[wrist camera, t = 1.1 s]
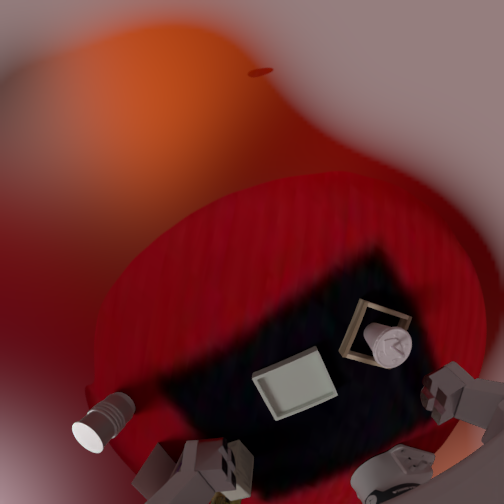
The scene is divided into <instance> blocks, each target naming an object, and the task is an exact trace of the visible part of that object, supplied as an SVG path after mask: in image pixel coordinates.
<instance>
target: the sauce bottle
mask: <svg viewBox="0 0 504 504" xmlns="http://www.w3.org/2000/svg"><path fill="white" fill-rule="evenodd" d="M211 504H241V499H238V500H233V501H230V500H229V499H228V498H226V497H225V496H224V495H223V494H222V493H221V492H215V495H214V496H213V498H212V500H211Z"/></svg>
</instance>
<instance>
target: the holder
mask: <svg viewBox="0 0 504 504" xmlns="http://www.w3.org/2000/svg"><path fill="white" fill-rule="evenodd" d="M367 306H368V307H370V308H373V309H376V310H379V311H382V312H385V313H388V314H391V315H394V316H397V317H400V320H399V322H398V325H397V327H400V328H403V329H404V330H405V331H407V329H408V327H409V324H410V322H411V319H412V317H411V316H408V315H406V314H403V313H400V312H398V311H395V310H392V309H389V308H386V307H383V306H380V305H377V304H374V303H371V302H368V301H366V300H363V299H359V302H358V304H357V307H356V310H355V312H354V315H353V317H352V320H351V322H350V325H349V327H348V330H347V332H346V335H345V337H344V340H343V342H342V344H341V347H340V349H339V352H340V354H341V355H342V357H346V358H349V359H353V360H356V361H360V362H364V363H368V364H371V365H375V366H379V367H383V366H381V365H380V364H378V363H377V362H376V361H375V359H374V357H372V356H368V355H365V354H361V353H358V352H354V351H351V350H350V348H351V345H352V343H353V341H354V338H355V336H356V334H357V331H358V329H359V326H360V324H361V321H362V319H363V316H364V314H365V311H366V308H367ZM383 368H385V367H383ZM387 369H391V368H387Z"/></svg>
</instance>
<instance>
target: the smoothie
mask: <svg viewBox="0 0 504 504" xmlns="http://www.w3.org/2000/svg"><path fill="white" fill-rule="evenodd" d="M364 338H365V340H366V341H367V343H368V345H369V347H370V348H371V350H372V352H373V356H374V359H375V361H376V362H377V363H378V364H380V365H381V366H383V367H385V368H393V367H396V366H398V365H400V364H401V363H403V362H404V361H405V360H406V358H407V357H408V355H409V354H410V351H411V347H412V340H411V337H410V335H409V333H408V332H407V331H405V330H404V329H403V328H400V327H389V326H386V325H382V324H379V323H371V324H369V325H368V326H367V327H366V328H365V330H364Z"/></svg>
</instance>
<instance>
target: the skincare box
mask: <svg viewBox="0 0 504 504" xmlns="http://www.w3.org/2000/svg"><path fill="white" fill-rule="evenodd" d="M228 447H229V448H231V449H232V451H233V454H234V457H235V462H236V469H235V470H234V472H233V473H234V475H235V476H236V490H233V491H224V492H221V493H222V494H223V495H224V496H225V497H226V498H228V499H229V500H230V501H233V500H238V499H243V498H247V497H250V496H251V486H252V475H253V463H254V456H253V455H252V454H251V453H250V452H249V450H248V449H247V448H246V447H245V446H244V445H243V444H242V443H241V441H240V440H236V441H233V442H230V443H228Z"/></svg>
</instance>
